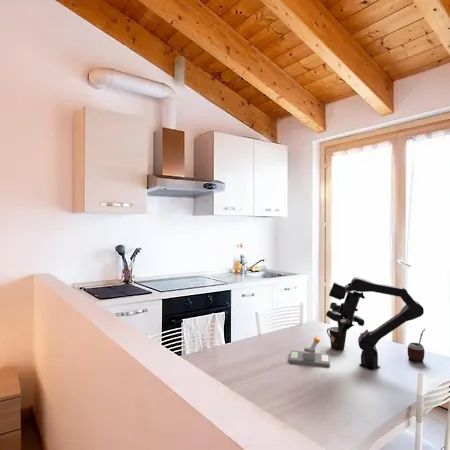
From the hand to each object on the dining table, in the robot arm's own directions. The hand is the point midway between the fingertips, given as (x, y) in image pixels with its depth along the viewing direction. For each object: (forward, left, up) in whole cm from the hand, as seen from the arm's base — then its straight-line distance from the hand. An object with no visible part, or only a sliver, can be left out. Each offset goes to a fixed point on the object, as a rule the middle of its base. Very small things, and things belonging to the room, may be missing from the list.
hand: (339, 335), depth 162 cm
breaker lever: (+9, +9, -10) cm, 17 cm away
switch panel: (+9, +9, -13) cm, 18 cm away
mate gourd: (-17, -34, -13) cm, 40 cm away
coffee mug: (+14, -15, -13) cm, 24 cm away
